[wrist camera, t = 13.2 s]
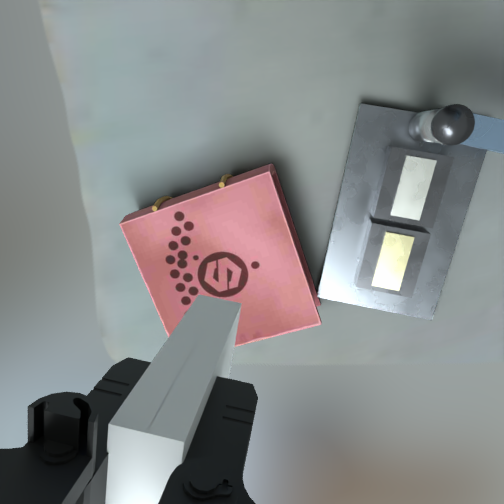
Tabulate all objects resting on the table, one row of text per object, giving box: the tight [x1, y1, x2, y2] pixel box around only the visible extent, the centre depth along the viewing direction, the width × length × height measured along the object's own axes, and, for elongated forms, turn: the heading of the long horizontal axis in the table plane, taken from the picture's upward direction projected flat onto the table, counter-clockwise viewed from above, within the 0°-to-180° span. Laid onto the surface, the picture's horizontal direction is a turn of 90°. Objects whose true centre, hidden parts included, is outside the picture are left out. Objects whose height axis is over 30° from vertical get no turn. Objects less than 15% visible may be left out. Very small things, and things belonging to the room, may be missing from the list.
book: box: [119, 163, 321, 347], centre depth 40 cm, size 14×15×5 cm
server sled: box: [317, 104, 487, 320], centre depth 35 cm, size 18×11×6 cm, turn 171°
